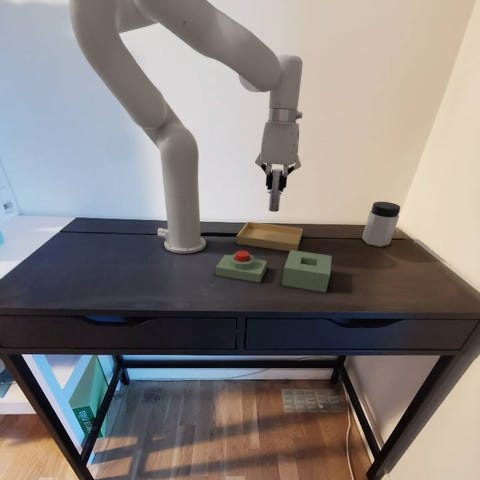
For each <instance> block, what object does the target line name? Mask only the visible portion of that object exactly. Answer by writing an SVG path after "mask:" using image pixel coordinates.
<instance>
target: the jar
mask: <svg viewBox="0 0 480 480" xmlns="http://www.w3.org/2000/svg"><path fill="white" fill-rule="evenodd" d="M400 211H401V206H400V205H399V204H397V203H394V202H389V201H375V202H373V204H372V206H371V210H370V211H369V212H368V215H367V219H366V224H365V227H364V230H363V233H362V238H361V239H362V240H363V241H364V242H365V243H366V244H367V245H370V246H375V247H381V248H382V247H385V246H388V245H390V244H391V242H392V239H393V235H394V233H395V231H396V230H395V229H396V227H397V225H398V221H399V218H400V215H399V214H400Z"/></svg>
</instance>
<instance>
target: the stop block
mask: <svg viewBox="0 0 480 480" xmlns="http://www.w3.org/2000/svg"><path fill="white" fill-rule="evenodd" d="M235 254H236V253H234V254H233V253H232V254H231V255H229V254H224V255H223V257H222V258H221V259H220V260H219V262H218V263H217V265H216V266H215V276H219V277H224V278H231V279H236V280H243V281H249V282H254V283H261V282H262V280H263V277H264V275H265V273H266V271H267V266H268V260H263V259H256V258H255V256H254V255H251V254H250V253H249V261H247V262H238V261H236V260H235Z"/></svg>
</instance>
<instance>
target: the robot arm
mask: <svg viewBox="0 0 480 480" xmlns="http://www.w3.org/2000/svg"><path fill="white" fill-rule="evenodd" d="M68 1H69V3H68V4H69V5H68V9H69V18H70V24H71V28H72V31H73V34H74V37H75V40H76V42H77V45H78V47H79V49H80V51H81V53H82V55H83V56H84V58H85V60H86V61H87V62H88V64H89V66H90V67H91V68H92V70H93V72H95V73H96V75H97V76H98V77H99V78H100V80H101V81H102V82H103V83H104V85H105V86H106V87H107V89H108V90H109V92H110V93H111V94H112V95H113V97H114V98H115V99H116V100H117V101H118V102H119V104H120V105H121V106H122V108H123V109H124V110H125V112H126V113H127V114H128V116H129V117H130V119H131V120H132V122H133V123H134V124H136V125H137V126H138V127H140V128H141V129H142V131H143V132H144V133H145V135H146V136H147V137H148V138H149V140H150V141H152V143H153V144H154V145H155V146H156V148H157V149H158V150H159V156H160V163H161V174H162V175H161V176H162V186H163V193H164V202H165V203H164V204H165V212H166V213H165V214H166V222H167V229H166V228H161V227H158V229H157V237H158V238H164V239H165V240H164V243H163V244H164V248H165V249H166V250H167V251H169V252H171V253H175V254H182V255H183V254H194V253H198V252H200V251H203V250H204V249H205V248H206V246H207V241H206V240H205V239H204V238H203V237H202V236H201V215H200V214H201V213H200V193H199V191H200V189H199V164H200V163H199V162H200V160H199V158H200V157H199V156H200V155H199V147H198V142H197V139H196V137H195V135H194V134H193V133H192V131H191V130H190V129H188V128H187V127H186V126H185V124H183V122H182V121H181V119H180V118H179V117H178V115H177V114H176V112H175V111H174V109H173V108H172V107H171V105H170V104H169V103H168V102H167V100H166V99H165V97H164V95H163V93H162V91H161V90H160V89H159V88H158V87H157V86H156V85H155V84H154V83H153V82H152V81H151V79H150V78H149V77H148V75H147V74H146V73H145V71H144V70H143V69H142V67H141V66H140V65H139V64H138V62H137V60H136V59H135V57H134V56H133V55H132V53H131V52H130V50H129V49H128V47H127V46H126V44H125V43H124V41H123V40H122V37H121V35H120V34H123V33H127V32H131V31H134V30H139V29H144V28H147V27H150V26H153V25H156V24H160V26H163V27H164V28H165V29H166V30H168V31H169V32H171V33H172V34H173V35H174V36H176V37H177V38H178V39H180V40H181V41H182V42H183V43H185V44H186V45H187V46H189V47H190V48H191V49H192V50H194V51H195V52H196V53H198V54H200V55H202V56H204V57H205V58H210V59H212V60H214V61H217V62H219V63H221V64H223V65H224V66H227V67H228V68H229V69H231V70H232V71H234V72H235V74H237V75H238V79H239V83H240V85H241V86H242V87H243V88H244V89H245V90H246V91H248V92H251V93H269V100H268V102H269V103H268V113H267V121H265V123H264V126H263V132H262V138H261V145H260V152H259V154H258V156H257V157H256V159H255V161H254V163H255V165H256V166H258V167H260V168H261V170H262V171H263V172H264V173H265V187H266V190H267V191H270V187H271V175H272V169H273V165H280V166H283V167H282V168H283V169H282V170H283V175H282V177H281V186H280V191H283V192H284V190H285V189H286V188H287V182H288V176H289V175H290V174H292V173H293V172H294V171H296V170H298V169H300V168H302V162H301V160H300V157H299V154H298V153H299V145H300V144H299V143H300V123H299V122H297V121H298V120H300V119H303V112H301V111H299V109H298V108H299V101H300V92H301V84H302V83H301V82H302V75H303V67H304V66H303V65H304V64H303V63H304V62H303V59H302V58H301V57H300V56H298V55H291V54H290V55H289V54H280V55H277V54H276V53H275V52H274V51H273V50H272V49H271V48H270V47H269V46H268V45H267V44H265V43H264V42H263V41H262V40H261V39H260V38H259V37H258V36H257V35H255V34H254V33H253V32H252V31H250V29H247V28H246V27H245V25H243V24H240V22H238V21H236V20H235V19H232V17H230V16H229V15H227V14H226V13H224V12H223V11H222V10H220V9H218V8H217V7H215V5H213V4H212V3H211V2H209V0H68Z"/></svg>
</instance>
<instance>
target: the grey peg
mask: <svg viewBox="0 0 480 480" xmlns="http://www.w3.org/2000/svg"><path fill="white" fill-rule="evenodd" d="M271 172H272V175H271V187H270V190H268V191H267V192H266V193H267V194H269V200H268V211H269V212H274V213H276V212H279V211H280V204H281V195H282V194H283V192H284V190H283V191H280V186H281V177H282V176H283V169H282V168H281V169H280V168H272V169H271Z"/></svg>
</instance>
